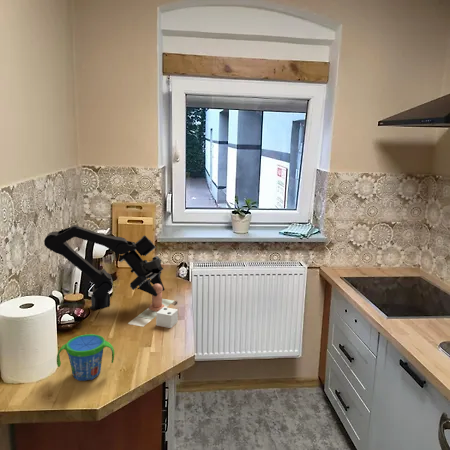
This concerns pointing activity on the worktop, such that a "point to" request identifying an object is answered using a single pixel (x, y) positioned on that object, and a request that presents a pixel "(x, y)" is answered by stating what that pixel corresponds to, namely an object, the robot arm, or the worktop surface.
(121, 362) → the worktop surface
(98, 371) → the snack cup
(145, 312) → the board
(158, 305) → the pawn
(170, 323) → the die
